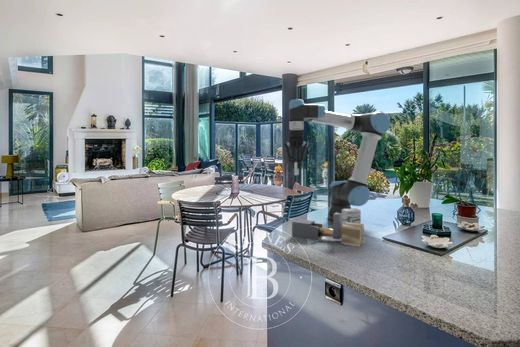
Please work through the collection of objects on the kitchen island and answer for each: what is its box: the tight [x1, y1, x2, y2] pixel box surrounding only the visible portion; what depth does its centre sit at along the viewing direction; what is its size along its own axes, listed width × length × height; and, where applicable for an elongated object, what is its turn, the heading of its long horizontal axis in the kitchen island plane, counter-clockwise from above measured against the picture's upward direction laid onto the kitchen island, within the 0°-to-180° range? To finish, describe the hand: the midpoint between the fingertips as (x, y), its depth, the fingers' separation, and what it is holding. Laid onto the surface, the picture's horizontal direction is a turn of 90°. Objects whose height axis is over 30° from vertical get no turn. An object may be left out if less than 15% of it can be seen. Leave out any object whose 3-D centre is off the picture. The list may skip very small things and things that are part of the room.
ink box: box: [342, 208, 362, 225], centre depth 171 cm, size 9×5×12 cm, turn 103°
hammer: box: [318, 213, 342, 240], centre depth 156 cm, size 4×18×12 cm, turn 61°
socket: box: [341, 222, 365, 248], centre depth 152 cm, size 8×8×8 cm
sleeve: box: [291, 218, 323, 241], centre depth 163 cm, size 7×13×8 cm, turn 61°
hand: (296, 174), depth 175 cm, fingers closed
